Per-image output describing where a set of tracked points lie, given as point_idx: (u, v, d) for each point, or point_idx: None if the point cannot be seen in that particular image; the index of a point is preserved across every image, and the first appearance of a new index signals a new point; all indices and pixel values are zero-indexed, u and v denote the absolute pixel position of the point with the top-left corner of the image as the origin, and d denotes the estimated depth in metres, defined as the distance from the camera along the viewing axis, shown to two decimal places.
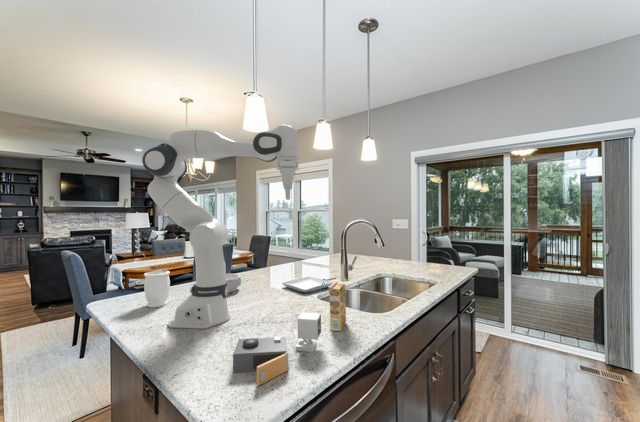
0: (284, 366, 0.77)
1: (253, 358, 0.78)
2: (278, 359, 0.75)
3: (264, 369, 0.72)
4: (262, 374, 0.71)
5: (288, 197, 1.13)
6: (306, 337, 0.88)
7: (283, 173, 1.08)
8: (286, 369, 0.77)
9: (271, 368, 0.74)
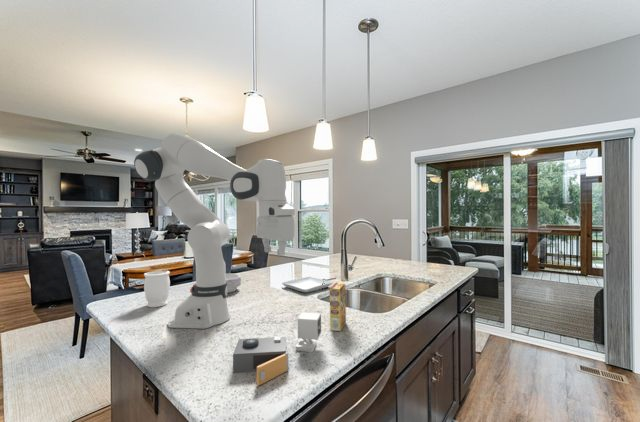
0: (284, 366, 0.77)
1: (253, 358, 0.78)
2: (278, 359, 0.75)
3: (264, 369, 0.72)
4: (262, 374, 0.71)
5: (282, 253, 0.87)
6: (306, 337, 0.88)
7: (283, 225, 0.83)
8: (286, 369, 0.77)
9: (271, 368, 0.74)
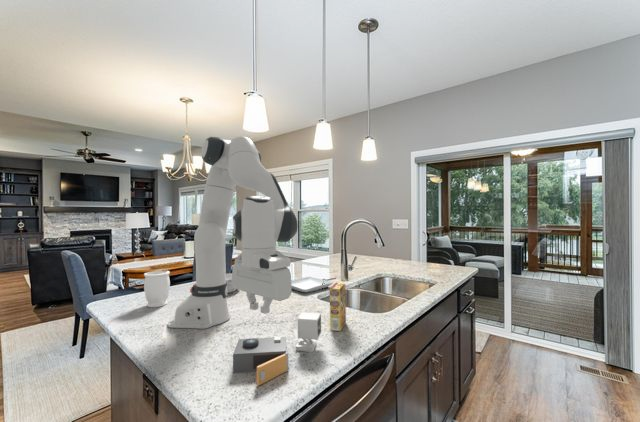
0: (284, 366, 0.77)
1: (253, 358, 0.78)
2: (278, 359, 0.75)
3: (264, 369, 0.72)
4: (262, 374, 0.71)
5: (267, 311, 0.74)
6: (306, 337, 0.88)
7: (280, 282, 0.68)
8: (286, 369, 0.77)
9: (271, 368, 0.74)
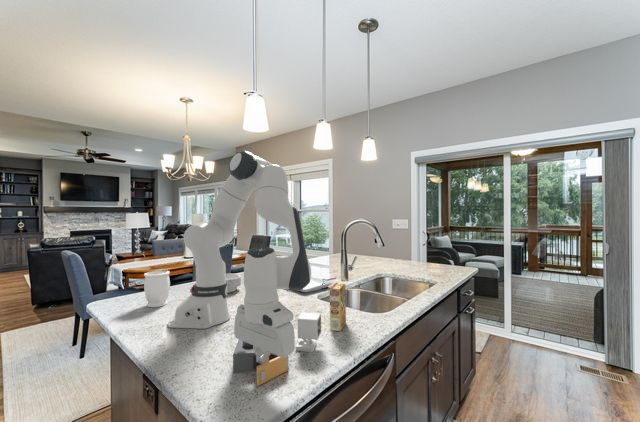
0: (284, 366, 0.77)
1: (253, 358, 0.78)
2: (278, 359, 0.75)
3: (264, 369, 0.72)
4: (262, 374, 0.71)
5: None
6: (306, 337, 0.88)
7: (283, 339, 0.68)
8: (286, 369, 0.77)
9: (271, 368, 0.74)
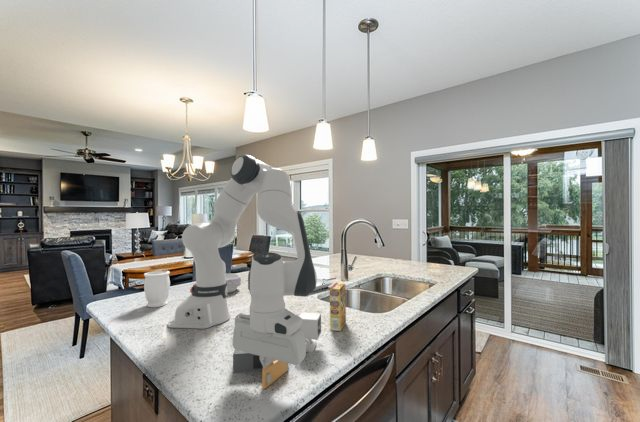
0: (285, 366, 0.77)
1: (253, 358, 0.78)
2: None
3: (269, 371, 0.71)
4: (268, 376, 0.70)
5: None
6: (306, 337, 0.88)
7: (298, 346, 0.68)
8: (287, 369, 0.77)
9: (275, 370, 0.73)
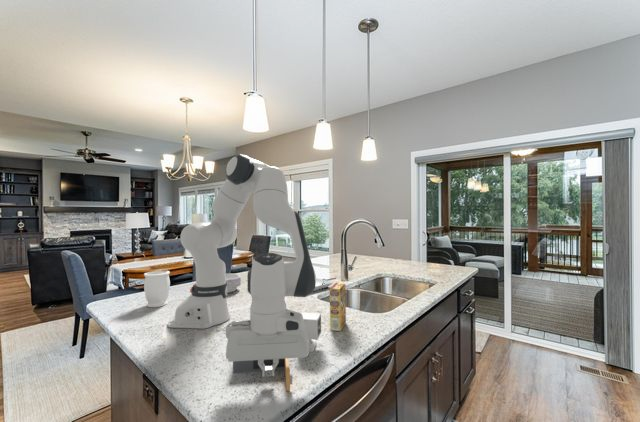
0: None
1: None
2: None
3: (289, 373, 0.71)
4: None
5: (274, 372, 0.72)
6: None
7: (307, 338, 0.71)
8: None
9: None
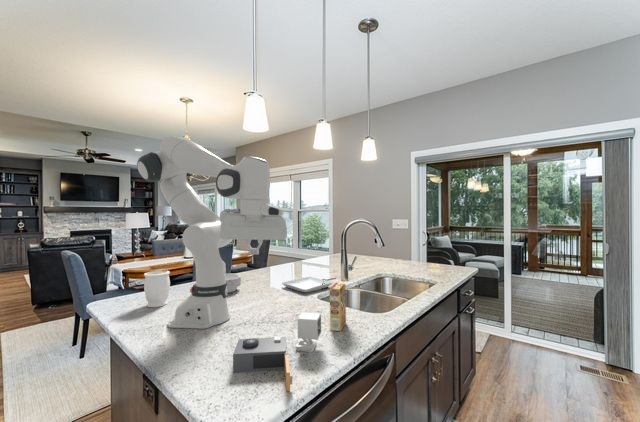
0: None
1: (253, 358, 0.78)
2: None
3: (289, 373, 0.71)
4: None
5: (258, 252, 0.90)
6: (306, 337, 0.88)
7: None
8: None
9: None
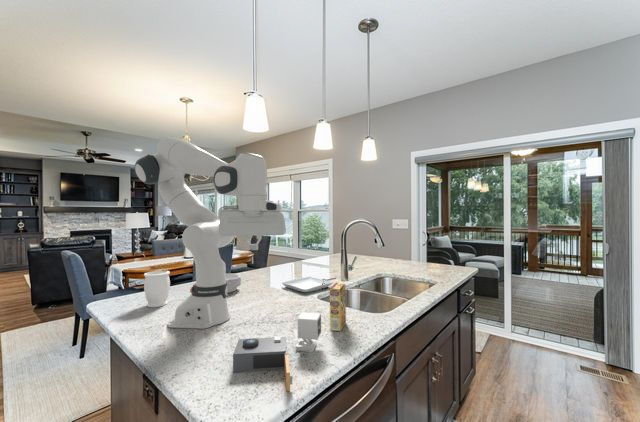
0: None
1: (253, 358, 0.78)
2: None
3: (289, 373, 0.71)
4: None
5: (257, 248, 0.90)
6: (306, 337, 0.88)
7: (284, 219, 0.89)
8: None
9: None
